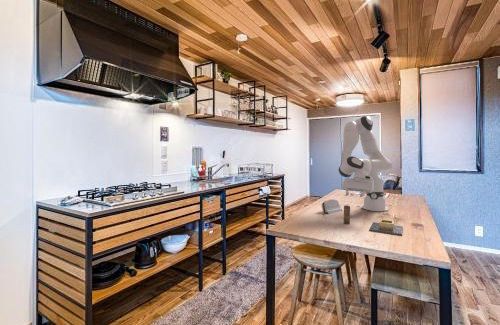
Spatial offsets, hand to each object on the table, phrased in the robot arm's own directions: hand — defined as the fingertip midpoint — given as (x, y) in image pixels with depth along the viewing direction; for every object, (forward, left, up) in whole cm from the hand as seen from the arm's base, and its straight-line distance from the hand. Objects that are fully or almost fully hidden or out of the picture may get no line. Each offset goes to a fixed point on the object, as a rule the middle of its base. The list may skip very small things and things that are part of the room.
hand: (354, 195), depth 169 cm
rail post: (+11, -2, -16) cm, 20 cm away
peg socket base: (+11, +20, -16) cm, 28 cm away
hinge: (-15, -18, -16) cm, 28 cm away
